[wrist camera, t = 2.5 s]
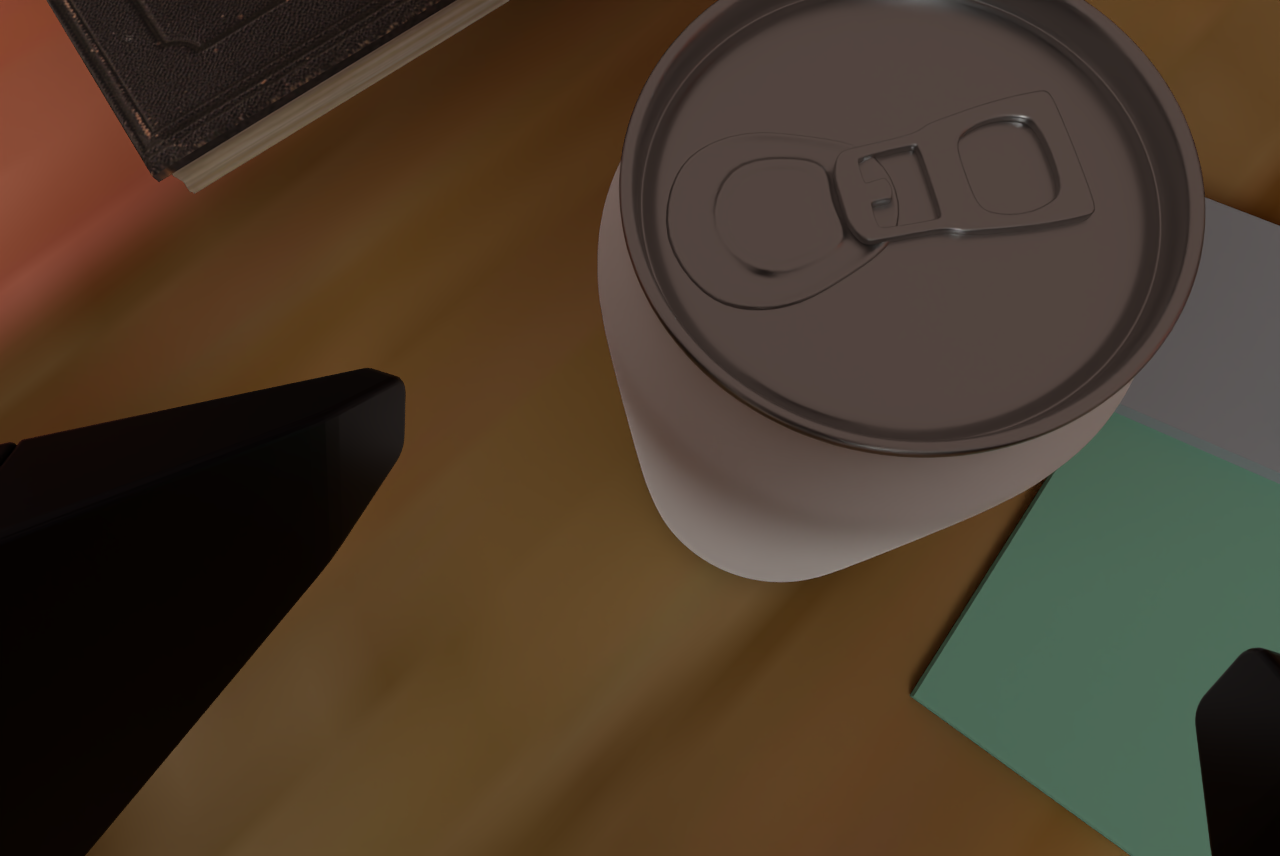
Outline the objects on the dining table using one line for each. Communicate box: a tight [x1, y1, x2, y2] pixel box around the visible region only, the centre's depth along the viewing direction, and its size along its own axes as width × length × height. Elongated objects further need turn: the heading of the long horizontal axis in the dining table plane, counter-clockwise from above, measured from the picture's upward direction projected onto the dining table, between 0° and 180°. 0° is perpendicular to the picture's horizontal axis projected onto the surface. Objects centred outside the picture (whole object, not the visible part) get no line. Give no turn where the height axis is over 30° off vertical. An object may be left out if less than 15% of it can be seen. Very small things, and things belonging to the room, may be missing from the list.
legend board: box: [1114, 197, 1280, 484], centre depth 19 cm, size 18×6×1 cm, turn 63°
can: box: [598, 0, 1205, 582], centre depth 13 cm, size 6×6×12 cm
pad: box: [910, 412, 1280, 856], centre depth 17 cm, size 9×9×1 cm
